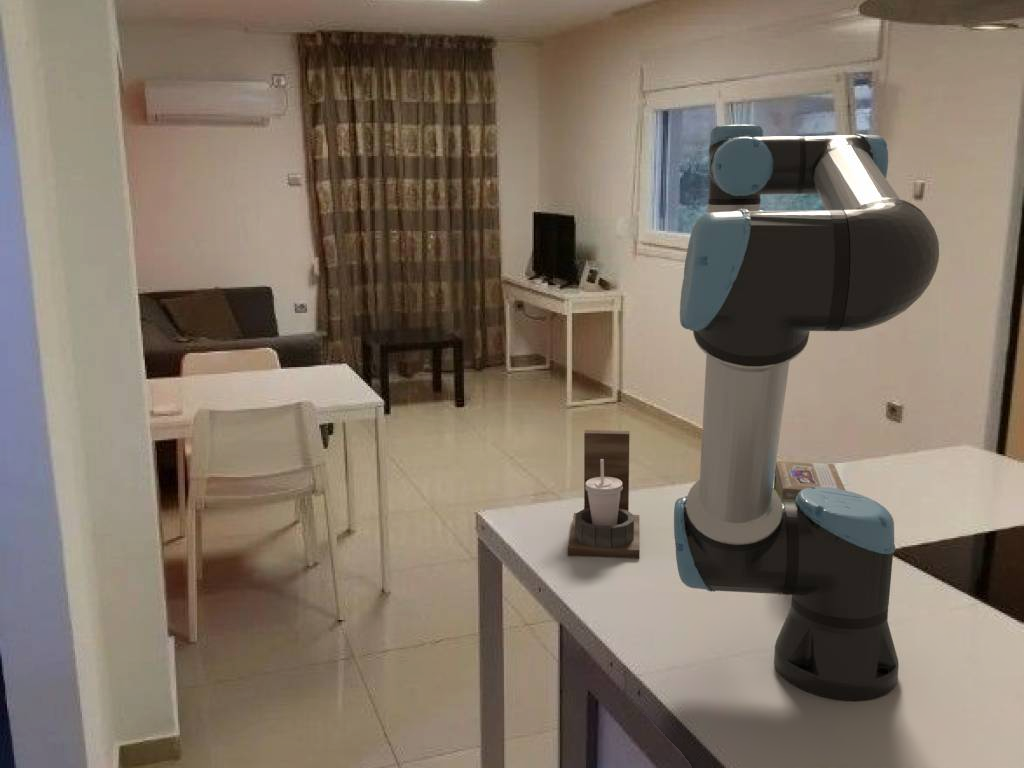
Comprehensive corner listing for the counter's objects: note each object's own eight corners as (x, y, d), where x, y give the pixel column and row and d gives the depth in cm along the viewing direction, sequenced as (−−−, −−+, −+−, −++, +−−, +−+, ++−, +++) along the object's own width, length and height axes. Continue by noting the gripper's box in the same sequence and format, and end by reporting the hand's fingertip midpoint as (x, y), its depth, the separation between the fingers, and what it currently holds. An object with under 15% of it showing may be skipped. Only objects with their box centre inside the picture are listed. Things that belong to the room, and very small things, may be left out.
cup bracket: (639, 558, 155) (641, 458, 151) (567, 555, 156) (567, 456, 152) (639, 522, 170) (640, 431, 166) (574, 520, 172) (573, 429, 168)
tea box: (841, 580, 145) (848, 491, 142) (775, 576, 147) (780, 488, 144) (829, 543, 160) (835, 461, 156) (769, 539, 162) (773, 458, 158)
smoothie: (580, 539, 159) (578, 461, 156) (595, 525, 164) (594, 450, 161) (614, 545, 156) (613, 466, 152) (629, 531, 161) (628, 455, 158)
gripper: (771, 239, 124) (764, 394, 129) (748, 228, 148) (743, 358, 153) (714, 240, 125) (709, 393, 129) (700, 228, 149) (697, 358, 154)
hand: (727, 374), depth 141 cm, fingers open, 13 cm apart
